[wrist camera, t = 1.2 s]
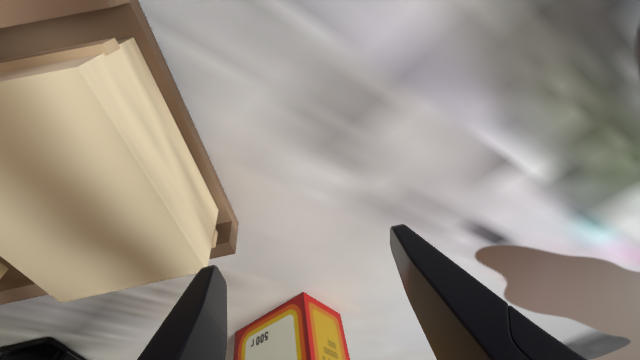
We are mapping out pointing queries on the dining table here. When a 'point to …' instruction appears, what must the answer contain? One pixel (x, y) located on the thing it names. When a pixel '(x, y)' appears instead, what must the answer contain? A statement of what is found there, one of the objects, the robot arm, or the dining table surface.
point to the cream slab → (96, 174)
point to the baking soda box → (294, 333)
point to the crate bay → (89, 26)
